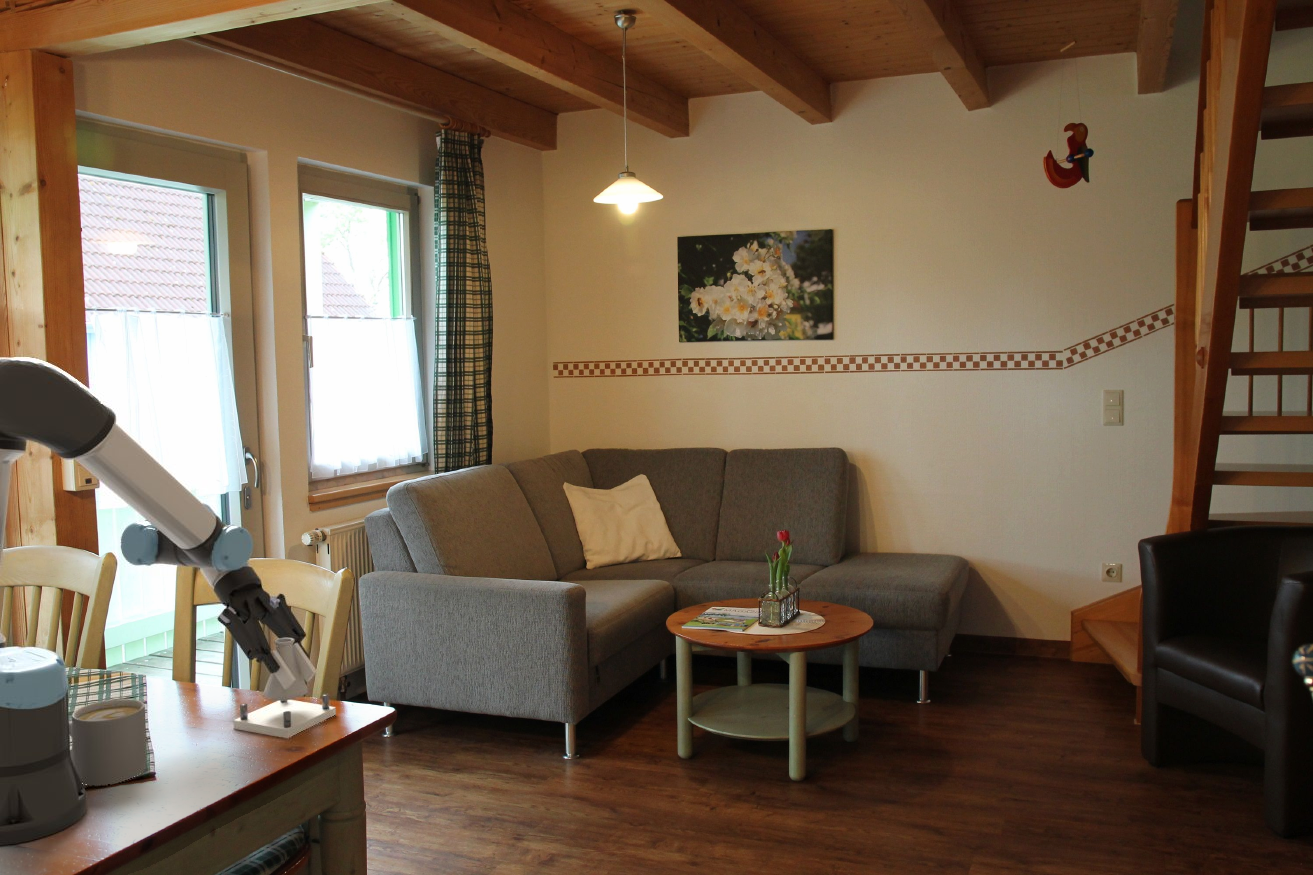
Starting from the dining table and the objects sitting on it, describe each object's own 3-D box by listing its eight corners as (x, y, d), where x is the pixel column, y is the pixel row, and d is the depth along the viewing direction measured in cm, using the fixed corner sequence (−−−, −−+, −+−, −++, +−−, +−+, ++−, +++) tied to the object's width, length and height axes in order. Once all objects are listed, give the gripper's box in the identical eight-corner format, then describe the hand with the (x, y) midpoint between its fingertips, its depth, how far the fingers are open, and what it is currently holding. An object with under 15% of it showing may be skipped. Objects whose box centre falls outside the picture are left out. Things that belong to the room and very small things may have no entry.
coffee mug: (160, 760, 162) (157, 699, 161) (123, 786, 152) (120, 721, 151) (80, 757, 163) (77, 697, 162) (38, 783, 153) (35, 719, 152)
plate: (288, 738, 172) (287, 729, 171) (233, 728, 176) (233, 719, 176) (335, 715, 183) (335, 707, 182) (283, 706, 187) (283, 698, 187)
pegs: (287, 728, 172) (287, 713, 172) (238, 719, 176) (238, 705, 176) (330, 707, 182) (330, 694, 182) (283, 699, 186) (283, 686, 186)
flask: (254, 698, 178) (252, 642, 177) (285, 686, 184) (284, 632, 183) (285, 704, 174) (284, 647, 174) (316, 692, 181) (314, 637, 180)
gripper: (260, 580, 192) (327, 678, 186) (181, 600, 177) (250, 708, 171) (279, 555, 190) (348, 654, 183) (200, 573, 174) (272, 682, 168)
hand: (301, 680), depth 177 cm, fingers closed on flask, 4 cm apart
